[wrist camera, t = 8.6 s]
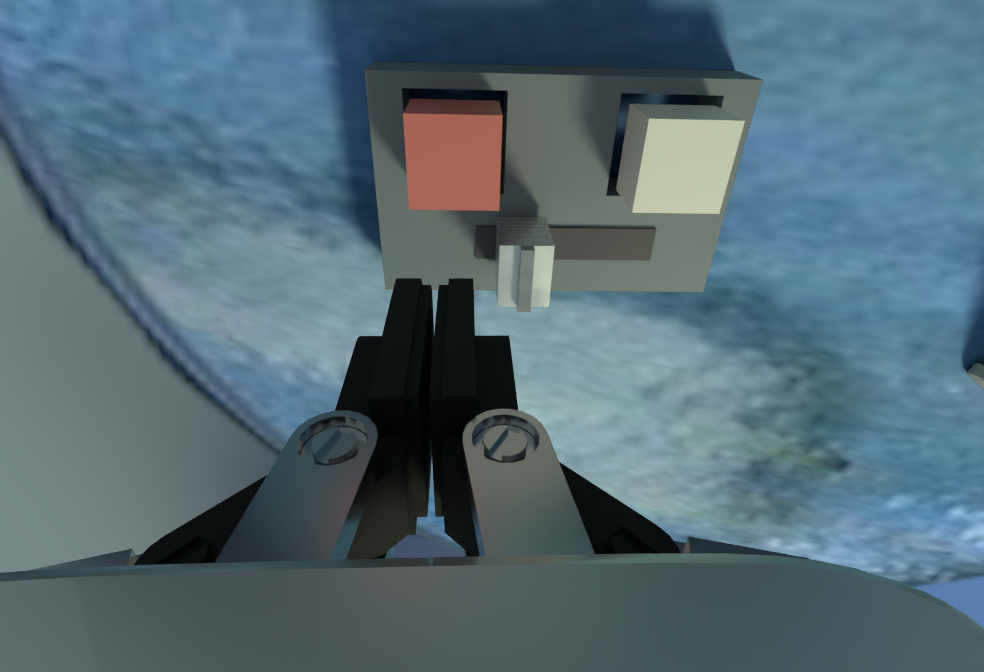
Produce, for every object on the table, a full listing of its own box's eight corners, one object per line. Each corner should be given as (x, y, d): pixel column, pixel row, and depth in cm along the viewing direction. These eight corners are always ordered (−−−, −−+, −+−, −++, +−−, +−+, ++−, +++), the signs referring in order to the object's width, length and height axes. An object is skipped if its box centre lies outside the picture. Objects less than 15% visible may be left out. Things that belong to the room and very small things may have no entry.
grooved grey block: (496, 216, 27) (500, 250, 23) (545, 217, 27) (556, 250, 24) (494, 273, 28) (497, 311, 25) (540, 273, 29) (549, 312, 25)
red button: (410, 98, 24) (402, 113, 21) (499, 100, 24) (502, 115, 21) (415, 186, 26) (409, 209, 23) (496, 187, 26) (499, 210, 24)
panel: (374, 61, 26) (363, 70, 23) (735, 70, 26) (764, 80, 24) (392, 265, 32) (385, 290, 29) (685, 268, 33) (703, 293, 30)
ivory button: (629, 103, 24) (649, 118, 22) (715, 105, 24) (745, 120, 22) (615, 189, 26) (632, 212, 24) (694, 190, 27) (719, 213, 24)
